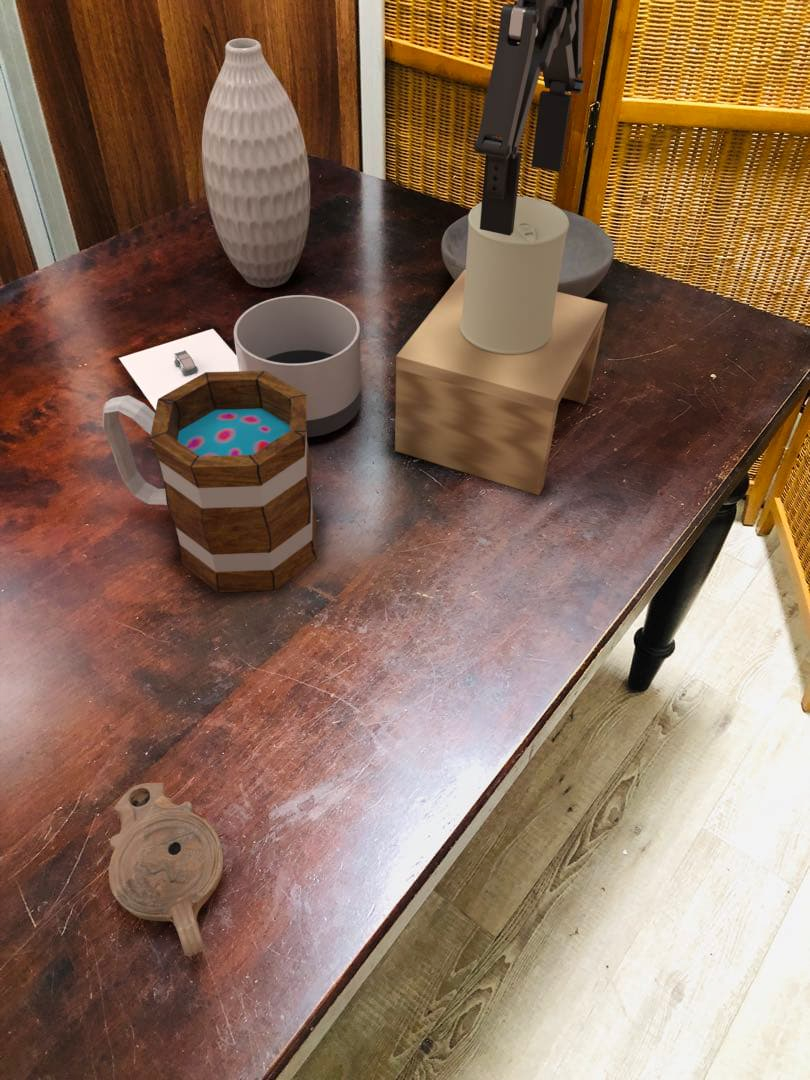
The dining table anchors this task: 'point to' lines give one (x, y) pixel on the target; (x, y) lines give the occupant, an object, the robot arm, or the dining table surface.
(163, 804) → the oil lamp
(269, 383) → the mug
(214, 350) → the white paper sheet
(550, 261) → the can
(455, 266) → the bowl
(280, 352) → the planter
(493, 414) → the shelf
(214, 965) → the dining table surface
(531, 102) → the robot arm
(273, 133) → the vase
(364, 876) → the dining table surface
